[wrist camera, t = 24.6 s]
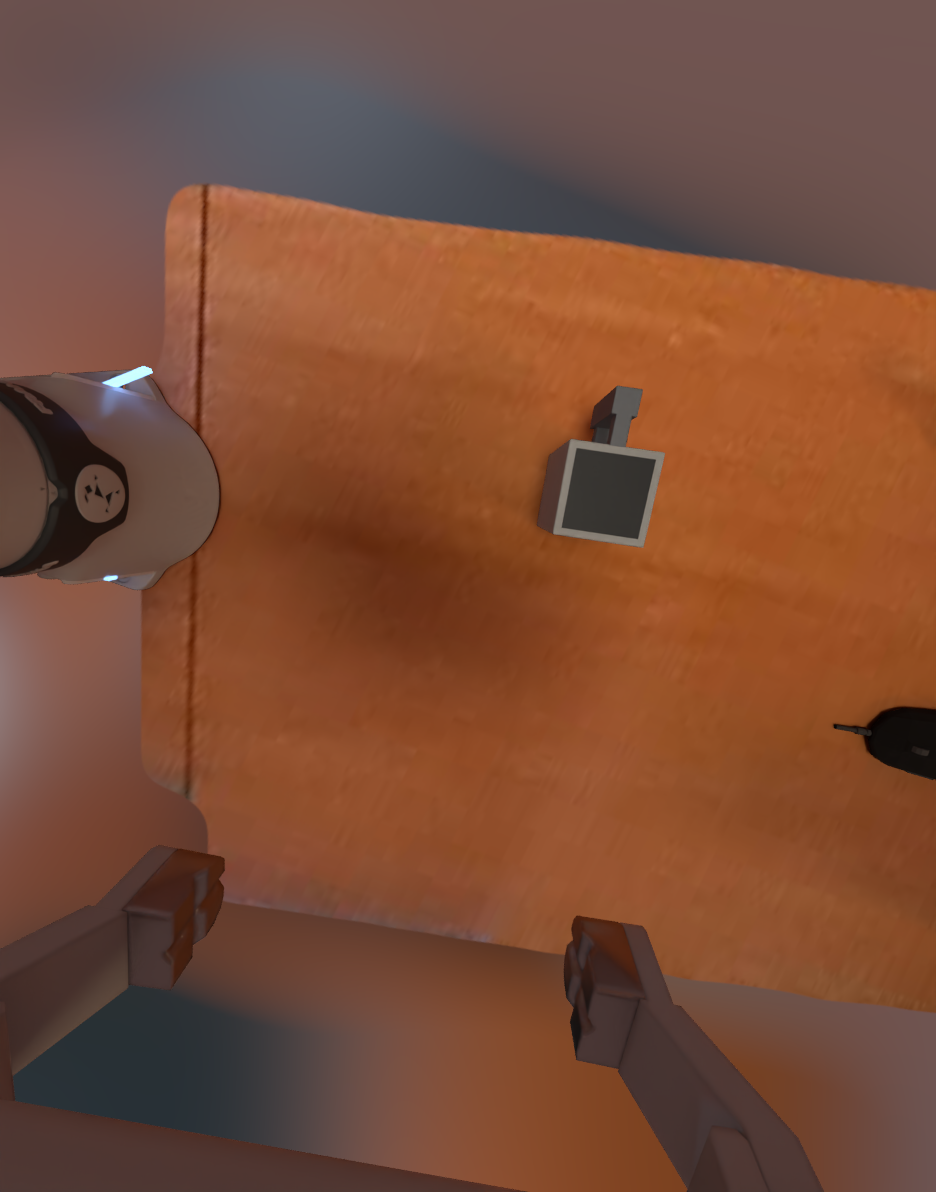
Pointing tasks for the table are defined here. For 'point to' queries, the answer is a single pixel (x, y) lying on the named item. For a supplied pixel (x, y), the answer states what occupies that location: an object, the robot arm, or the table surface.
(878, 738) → the gaming mouse
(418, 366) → the table surface
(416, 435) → the table surface
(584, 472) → the grey box with ridge
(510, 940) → the table surface
